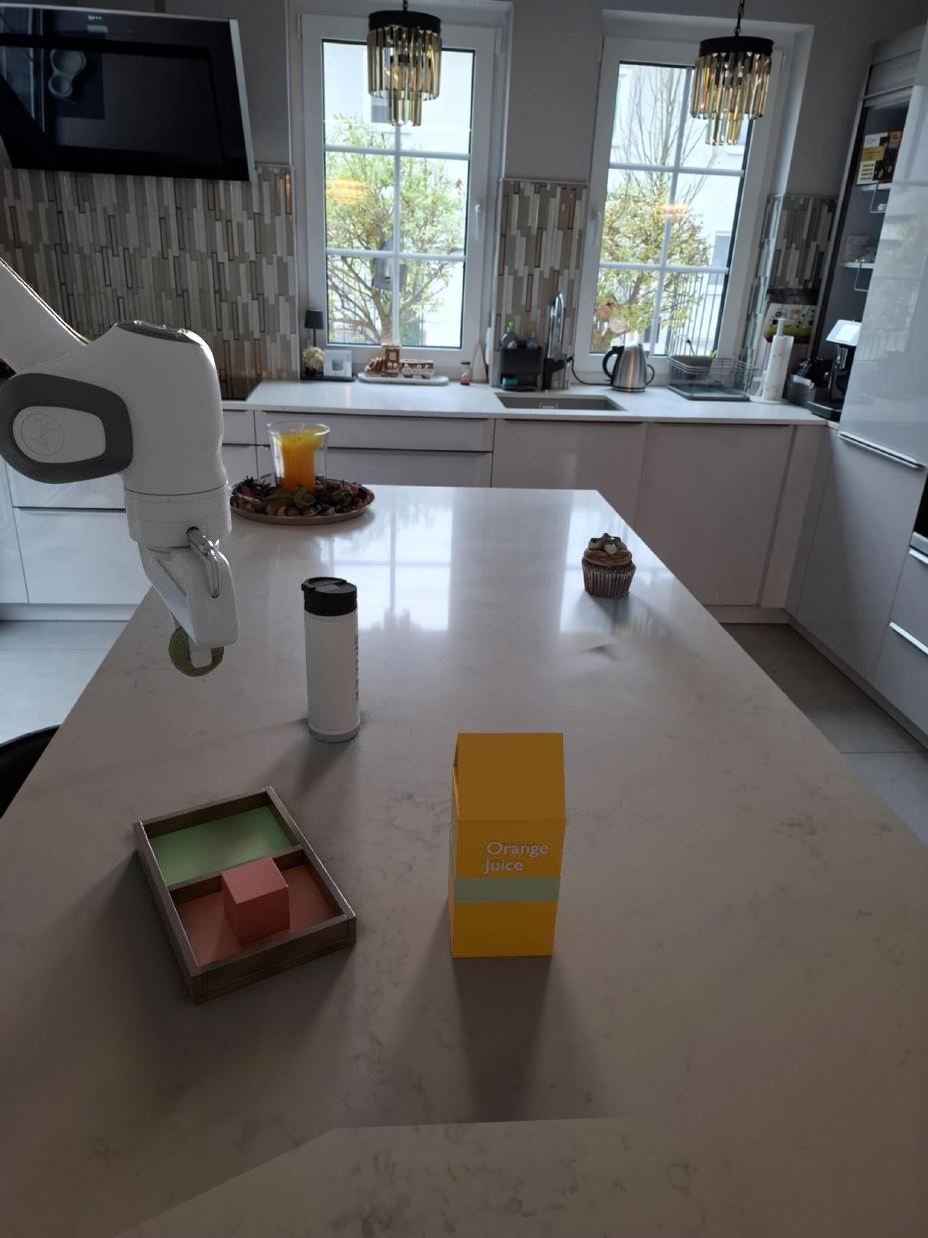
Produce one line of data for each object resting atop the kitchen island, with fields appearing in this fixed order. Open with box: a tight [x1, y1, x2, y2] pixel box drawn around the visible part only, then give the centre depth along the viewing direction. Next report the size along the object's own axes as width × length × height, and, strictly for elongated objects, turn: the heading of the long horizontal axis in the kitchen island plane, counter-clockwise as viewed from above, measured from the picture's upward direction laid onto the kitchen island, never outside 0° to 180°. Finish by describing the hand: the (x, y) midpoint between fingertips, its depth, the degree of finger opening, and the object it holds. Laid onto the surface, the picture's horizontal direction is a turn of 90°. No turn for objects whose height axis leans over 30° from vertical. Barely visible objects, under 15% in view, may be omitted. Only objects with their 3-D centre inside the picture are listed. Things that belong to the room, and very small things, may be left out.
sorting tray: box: [132, 785, 358, 1006], centre depth 80 cm, size 14×22×3 cm, turn 31°
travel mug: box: [300, 576, 361, 743], centre depth 104 cm, size 6×7×20 cm
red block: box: [221, 857, 290, 946], centre depth 75 cm, size 4×4×4 cm
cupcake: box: [580, 532, 637, 599], centre depth 154 cm, size 10×10×10 cm
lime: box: [167, 626, 225, 678], centre depth 82 cm, size 4×5×5 cm
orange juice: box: [447, 732, 567, 958], centre depth 74 cm, size 8×9×20 cm
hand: (193, 653), depth 83 cm, fingers closed on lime, 3 cm apart
